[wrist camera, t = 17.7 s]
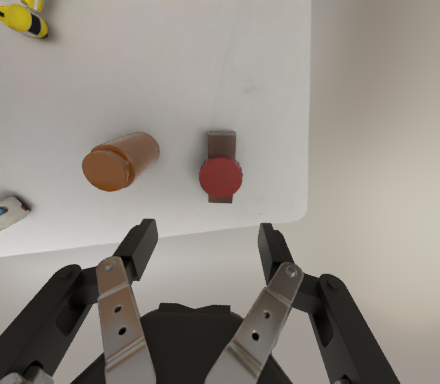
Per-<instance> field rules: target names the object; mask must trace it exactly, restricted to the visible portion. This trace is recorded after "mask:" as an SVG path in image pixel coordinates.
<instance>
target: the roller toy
mask: <svg viewBox="0 0 440 384" xmlns="http://www.w3.org/2000/svg"><path fill="white" fill-rule="evenodd" d="M29 213H30V211H29V210H26V209H25V207H24V206H22V203H21V202H20V201H18V200H17V199H16V198H15V197H12V196H10V197H7V198H5V199H3V200H1V201H0V231H1V230H3V229H5V228H7V227H9V226H10V225H12V224H14V223H16V222H18V221H19V220H21V219H23V218H24V217H26V216H27V215H28V214H29Z"/></svg>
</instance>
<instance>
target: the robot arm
mask: <svg viewBox="0 0 440 384" xmlns="http://www.w3.org/2000/svg"><path fill="white" fill-rule="evenodd" d="M157 241H158V232H157V226H156V221H155V219H143V220H142V222H141V224H140V225H136V226H135V227H133V228H132V229H131V230H130V231H129V232H128V234H127V236H126V237H125V238H124V240H123V241H122V243H121V244H120V245H119V247H118V249H117V250H116V251H115V253H114V254H113V256H112V257H108V258H106V259H104V260H103V261H101V262H100V263H99V264H98V266H96V267H91V268H87V269H83V270H82V269H81V267H80V266H79V265H77V264H73V265H68V266H65V267H63V268H61V269H60V270H59V271H57V272H56V273H55V274H54V275H53V276H52V277H51V278H50V279H49V281H48V282H47V283H46V284H45V285H44V286H43V287H42V289H41V290H40V291H39V292H38V293H37V294H36V295H35V297H34V298H33V299H32V300H31V301H30V302H29V303H28V305H27V306H26V307H25V308H24V309H23V310H22V311H21V313H20V314H19V315H18V316H17V317H16V318H15V319H14V321H13V322H12V323H11V324H10V325H9V326H8V328H7V329H6V330H5V331H4V332H3V333H2V334H1V336H0V384H54V381H53V379H52V376H53V374H54V373H55V371H56V369H57V367H58V365H59V364H60V362H61V360H62V358H63V357H64V355H65V353H66V351H67V350H68V348H69V346H70V344H71V342H72V341H73V339H74V337H75V335H76V333H77V332H78V330H79V328H80V326H81V325H82V323H83V321H84V319H85V318H86V316H87V314H88V312H89V310H90V309H91V307H92V305H93V304H94V303H98V309H99V317H100V324H101V332H102V340H103V348H104V352H103V353H102V354H101V355H100V356H99V357H98V358H97V359H96V360H95V361H94V362H93V363H92V364H91V365H89V366H88V367H87V368H86V369H85V370H84V371H83V372H82V373H81V374H80V375H79V376H78V377H77V378H76V379H75V380H74V381H72V382H71V383H70V384H293V383H292V382H291V381H290V379H289V378H288V376H287V375H286V374H285V372H284V371H283V370H282V368H281V367H280V366H279V364H278V363H277V361H276V360H275V359H274V357H273V356H272V353H273V351H274V349H275V346H276V344H277V342H278V339H279V337H280V334H281V332H282V329H283V327H284V325H285V322H286V320H287V318H288V316H289V313H290V311H291V309H292V307H293V308H296V309H299V310H301V311H304V312H307V313H308V315H309V318H310V321H311V324H312V327H313V330H314V334H315V337H316V340H317V343H318V346H319V349H320V352H321V356H322V358H323V362H324V365H325V368H326V371H327V374H328V378H329V380H330V383H331V384H400V382H399V380H398V379H397V377H396V375H395V373H394V371H393V370H392V368H391V366H390V364H389V362H388V361H387V359H386V357H385V355H384V353H383V352H382V350H381V348H380V346H379V345H378V343H377V341H376V339H375V338H374V336H373V334H372V332H371V330H370V328H369V327H368V325H367V323H366V321H365V320H364V318H363V316H362V314H361V312H360V311H359V309H358V307H357V305H356V304H355V302H354V300H353V298H352V296H351V295H350V293H349V291H348V289H347V287H346V286H345V284H344V283H343V282H342V281H341V280H340V279H339V278H337V277H335V276H333V275H331V274H322V275H321V276H320V277H319V278H317V277H314V276H311V275H308V274H305V273H303V271H302V270H301V268H299V267H298V266H297V265H295V263H294V261H293V258H292V256H291V254H290V251H289V249H288V247H287V244H286V242H285V239H284V237H283V235H282V234H281V233H280V232H279V231H278V230H273V227H272V224H271V223H261V224H260V229H259V235H258V248H259V252H260V257H261V261H262V266H263V271H264V276H265V280H266V285H267V287H264V289H263V290H262V292H261V293H260V295H259V296H258V298H257V300H256V301H255V303H254V304H253V306H252V308H251V309H250V311H249V313H248V314H247V316H246V317H245V319H244V318H242V317H241V316H240V315H238V314H236V313H234V312H231V311H230V305H211V306H206V307H202V308H197V309H192V308H189V307H187V306H184V305H181V304H178V303H160V305H159V309H156V310H153V311H151V312H149V313H147V314H145V315H144V316H142V317H141V316H140V313H139V310H138V307H137V304H136V300H135V297H134V294H133V291H132V287H131V284H132V282H133V281H140V279H141V276H142V274H143V272H144V270H145V268H146V266H147V263H148V261H149V259H150V257H151V255H152V252H153V250H154V248H155V246H156V244H157Z"/></svg>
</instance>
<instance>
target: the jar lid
mask: <svg viewBox="0 0 440 384" xmlns="http://www.w3.org/2000/svg"><path fill="white" fill-rule="evenodd" d="M241 171H242V170H241V167H240V165H239V163H238V162H237V161H236V160H235V159H234V158H232V157H231V156H228V155H225V154H218V155H213V156H212V157H210V158H208V159H207V160H206V161H204V164H203V166H202V167H201V171H200V173H199V174H200V175H199V180H200V184H201V186H202V188H203V189H204V190H205V192H207V193H208V194H209V195H211V196H214V197H218V198H224V197H228V196H231V195H233V194H234V193H235V192H237V191H238V189H239V188H240V186H241V183H242V176H243V175H242V172H241Z"/></svg>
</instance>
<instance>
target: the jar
mask: <svg viewBox="0 0 440 384" xmlns="http://www.w3.org/2000/svg"><path fill="white" fill-rule="evenodd" d="M159 154H160V152H159V147H158V144H157V143H156V141H155V140H154V139H153V138H152V137H151V136H150V135H148V134H146V133H143V132H134V133H131V134H129V135H126V136H123V137H120V138H118V139H115V140H112V141H109V142H107V143H104V144H101V145H98V146H96V147H95V148H93V149H92V151H91V152H90V153H89V154H88V155H87V156H86V157H85V158H84V160H83V163H82V169H83V173H84V175H85V177H86V178H87V180H88V181H89V182H90V183H91V184H92V185H93V186H95V187H96V188H98V189H100V190H103V191H109V192H112V191H117V190H120V189H122V188H126V187H128V186H130V185H131V184H132V183H133V182H134V181H135V180H137V179H138V178H139V177H140V176H141V175H142V174H143V173H144V172H146V171H147V170H148V169H149V168H150V167H151V166H152V165H154V164H155V163H156V162H157V160H158V158H159Z"/></svg>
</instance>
